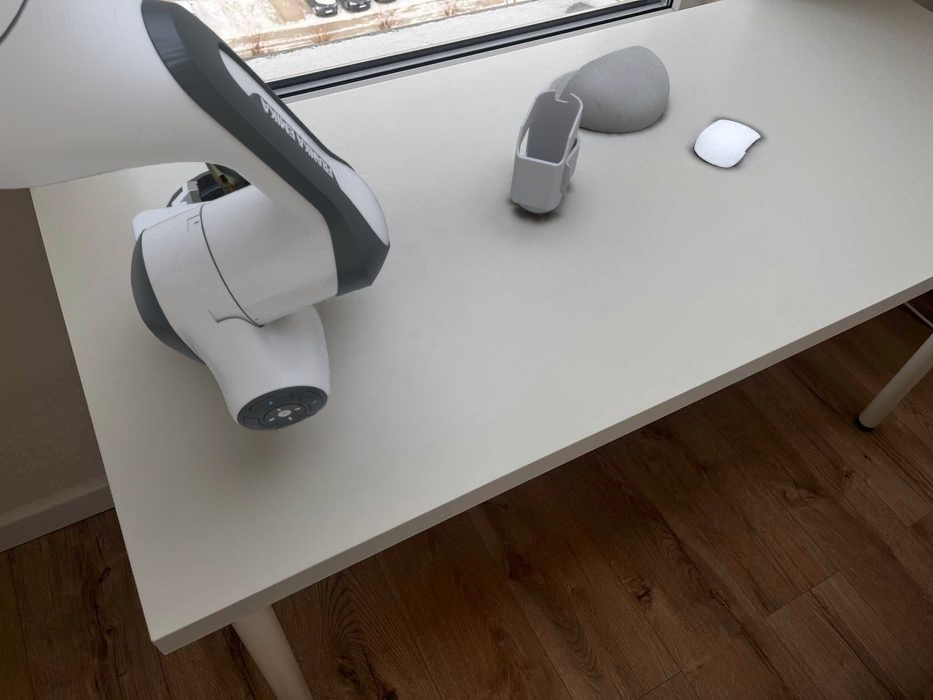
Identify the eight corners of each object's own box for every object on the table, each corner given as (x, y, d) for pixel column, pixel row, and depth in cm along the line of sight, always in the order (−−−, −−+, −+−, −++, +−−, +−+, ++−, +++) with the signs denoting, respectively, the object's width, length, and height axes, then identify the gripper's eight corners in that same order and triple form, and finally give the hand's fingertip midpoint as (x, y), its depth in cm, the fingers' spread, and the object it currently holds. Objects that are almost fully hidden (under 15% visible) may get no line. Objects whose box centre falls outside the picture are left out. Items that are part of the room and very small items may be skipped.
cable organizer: (504, 221, 88) (514, 137, 78) (529, 164, 95) (541, 81, 86) (556, 234, 87) (573, 151, 77) (577, 176, 94) (595, 93, 85)
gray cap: (609, 101, 93) (530, 46, 101) (598, 148, 99) (524, 92, 106) (706, 63, 101) (625, 14, 109) (690, 109, 106) (614, 59, 114)
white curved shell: (764, 134, 103) (770, 120, 101) (731, 173, 97) (737, 158, 95) (720, 116, 105) (726, 102, 104) (686, 153, 99) (691, 139, 97)
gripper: (369, 227, 64) (338, 139, 72) (127, 267, 59) (124, 168, 67) (372, 277, 69) (343, 190, 77) (149, 317, 64) (144, 219, 72)
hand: (239, 180), depth 72 cm, fingers open, 8 cm apart
